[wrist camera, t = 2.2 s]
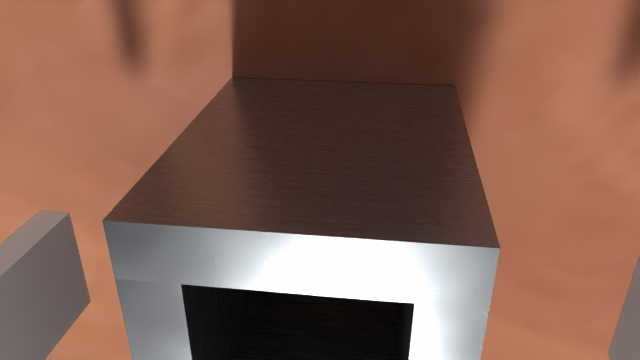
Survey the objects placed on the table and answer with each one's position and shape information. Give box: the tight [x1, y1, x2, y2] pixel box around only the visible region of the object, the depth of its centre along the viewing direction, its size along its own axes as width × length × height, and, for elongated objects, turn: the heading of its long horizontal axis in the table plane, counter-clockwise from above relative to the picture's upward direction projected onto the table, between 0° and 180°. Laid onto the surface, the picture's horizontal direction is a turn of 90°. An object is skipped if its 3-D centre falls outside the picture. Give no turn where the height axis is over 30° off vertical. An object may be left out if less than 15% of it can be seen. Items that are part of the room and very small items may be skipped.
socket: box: [103, 78, 500, 360], centre depth 14 cm, size 6×6×8 cm
